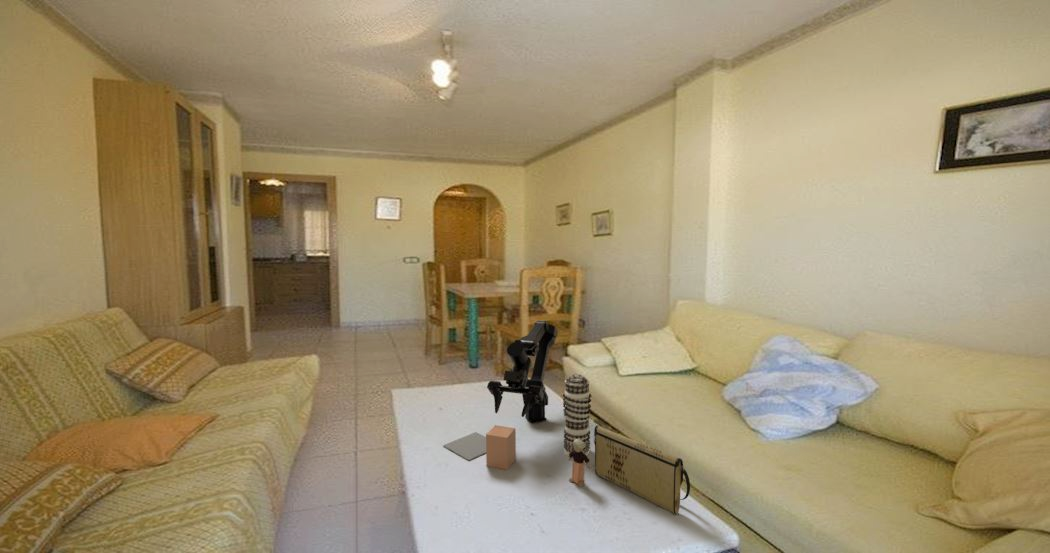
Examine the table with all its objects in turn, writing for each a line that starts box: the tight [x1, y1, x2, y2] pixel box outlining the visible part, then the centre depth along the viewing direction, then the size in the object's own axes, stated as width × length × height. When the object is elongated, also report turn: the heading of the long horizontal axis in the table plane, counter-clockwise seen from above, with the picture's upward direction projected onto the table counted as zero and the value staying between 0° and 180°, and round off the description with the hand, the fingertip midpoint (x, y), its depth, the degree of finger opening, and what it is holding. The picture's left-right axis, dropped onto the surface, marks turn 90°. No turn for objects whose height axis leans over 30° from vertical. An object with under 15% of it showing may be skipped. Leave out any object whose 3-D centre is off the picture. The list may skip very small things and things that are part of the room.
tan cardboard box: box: [485, 424, 517, 470], centre depth 137 cm, size 7×7×10 cm
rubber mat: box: [442, 431, 486, 462], centre depth 148 cm, size 14×14×1 cm
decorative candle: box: [562, 374, 592, 457], centre depth 143 cm, size 9×9×25 cm
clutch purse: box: [593, 425, 691, 516], centre depth 122 cm, size 30×7×15 cm, turn 42°
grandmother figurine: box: [567, 439, 592, 486], centre depth 125 cm, size 8×4×13 cm, turn 62°
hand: (509, 414), depth 143 cm, fingers open, 9 cm apart
